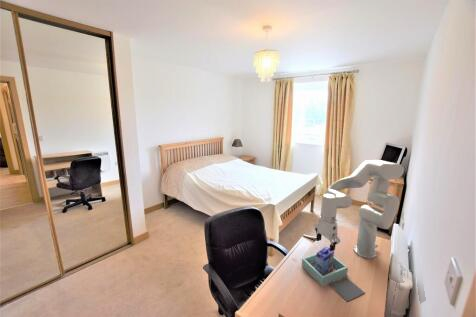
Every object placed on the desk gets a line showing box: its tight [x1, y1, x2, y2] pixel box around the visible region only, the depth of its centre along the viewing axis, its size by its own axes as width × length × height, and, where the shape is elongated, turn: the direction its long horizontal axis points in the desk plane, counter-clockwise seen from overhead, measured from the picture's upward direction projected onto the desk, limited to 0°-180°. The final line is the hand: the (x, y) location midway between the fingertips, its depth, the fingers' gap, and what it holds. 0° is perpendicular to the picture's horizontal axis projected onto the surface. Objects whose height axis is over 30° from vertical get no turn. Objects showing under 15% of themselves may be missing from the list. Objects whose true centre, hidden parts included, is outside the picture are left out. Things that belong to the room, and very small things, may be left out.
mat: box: [328, 276, 366, 303], centre depth 107 cm, size 12×11×1 cm
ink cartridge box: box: [314, 246, 335, 276], centre depth 118 cm, size 10×6×14 cm, turn 127°
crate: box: [301, 252, 349, 286], centre depth 119 cm, size 18×16×5 cm
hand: (325, 245), depth 116 cm, fingers open, 9 cm apart
